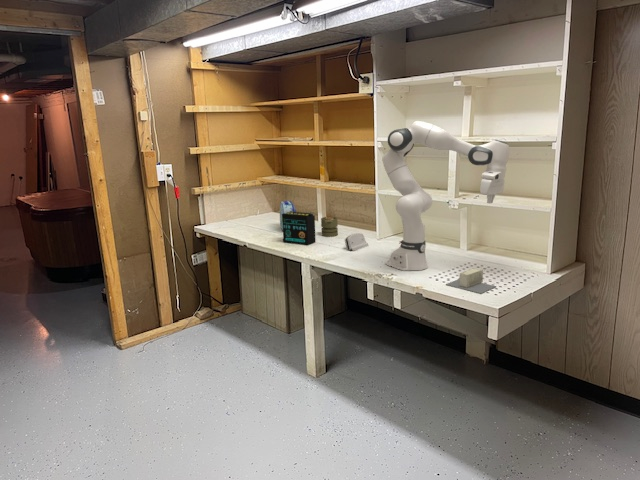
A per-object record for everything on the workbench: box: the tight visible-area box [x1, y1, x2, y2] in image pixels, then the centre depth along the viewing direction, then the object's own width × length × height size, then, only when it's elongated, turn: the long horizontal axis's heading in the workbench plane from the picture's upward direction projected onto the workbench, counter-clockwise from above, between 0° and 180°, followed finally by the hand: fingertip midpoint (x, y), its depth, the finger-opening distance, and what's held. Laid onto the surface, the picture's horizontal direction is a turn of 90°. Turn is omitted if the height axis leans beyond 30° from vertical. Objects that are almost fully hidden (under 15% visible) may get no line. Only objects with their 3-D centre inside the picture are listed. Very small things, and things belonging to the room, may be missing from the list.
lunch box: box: [279, 200, 297, 231], centre depth 353 cm, size 26×11×21 cm, turn 10°
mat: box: [445, 278, 497, 295], centre depth 219 cm, size 18×13×1 cm
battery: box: [282, 211, 316, 246], centre depth 311 cm, size 19×10×20 cm, turn 59°
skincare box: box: [458, 267, 484, 288], centre depth 220 cm, size 6×4×12 cm
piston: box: [320, 216, 339, 238], centre depth 331 cm, size 11×12×11 cm
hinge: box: [344, 232, 369, 252], centre depth 295 cm, size 17×5×10 cm, turn 139°
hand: (489, 203), depth 232 cm, fingers closed
